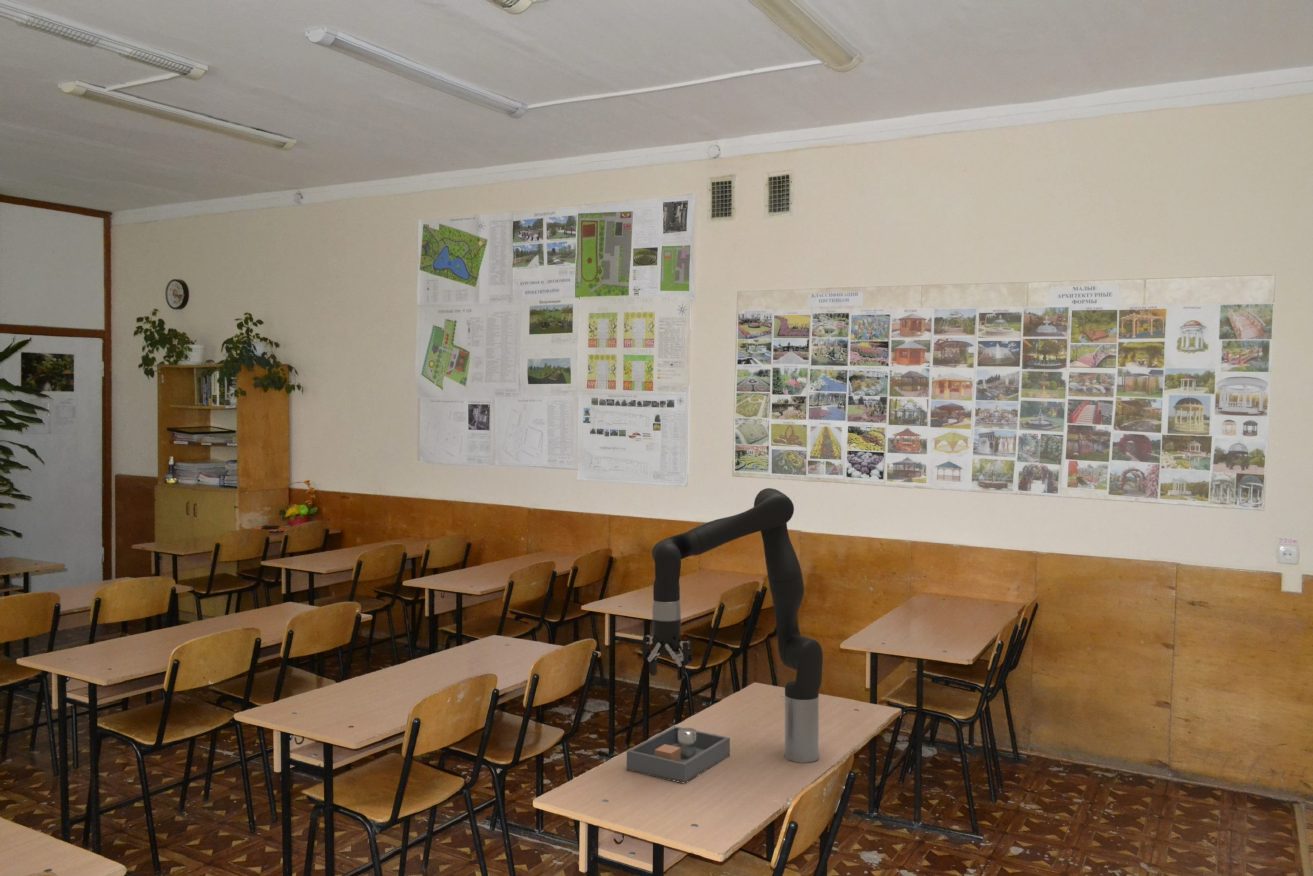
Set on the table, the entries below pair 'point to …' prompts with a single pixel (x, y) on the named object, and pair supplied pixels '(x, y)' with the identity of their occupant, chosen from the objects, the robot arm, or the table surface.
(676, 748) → the cube
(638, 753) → the tote
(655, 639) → the robot arm
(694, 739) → the cylinder
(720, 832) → the table surface
